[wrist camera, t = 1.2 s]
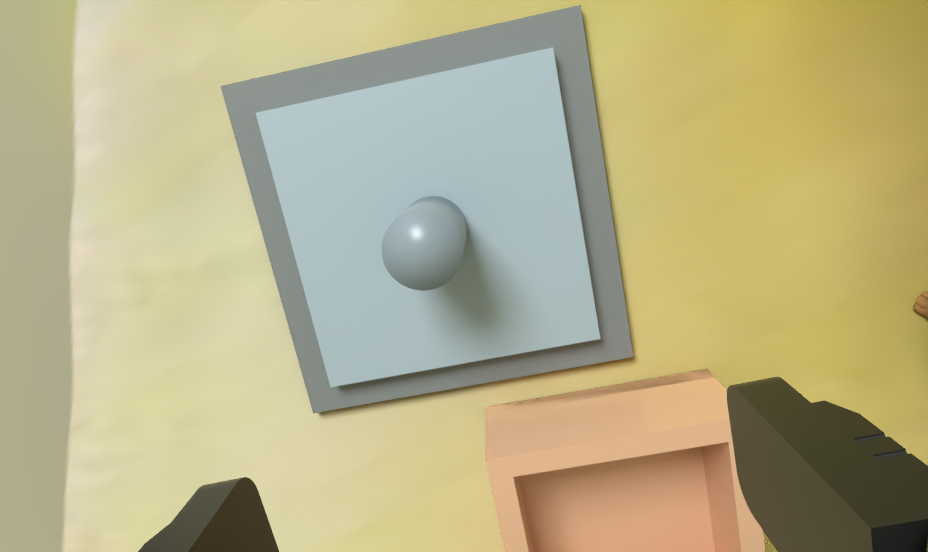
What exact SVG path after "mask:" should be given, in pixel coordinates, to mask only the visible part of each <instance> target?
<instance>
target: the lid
mask: <svg viewBox="0 0 928 552" xmlns="http://www.w3.org/2000/svg"><path fill="white" fill-rule="evenodd" d="M256 116H257V120H258V124H259V127H260V131H261V135H262V138H263V142H264V146H265V149H266V153H267V157H268V160H269V164H270V168H271V171H272V175H273V179H274V182H275V186H276V190H277V193H278V197H279V201H280V204H281V208H282V211H283V215H284V219H285V222H286V226H287V230H288V233H289V237H290V241H291V244H292V248H293V252H294V255H295V259H296V263H297V266H298V270H299V274H300V277H301V281H302V285H303V288H304V292H305V296H306V299H307V303H308V307H309V310H310V314H311V318H312V321H313V325H314V329H315V332H316V336H317V339H318V343H319V347H320V350H321V354H322V358H323V361H324V365H325V369H326V372H327V376H328V380H329V383H330V387H335V386H341V385H346V384H352V383H358V382H363V381H369V380H374V379H380V378H385V377H391V376H397V375H402V374H408V373H413V372H419V371H425V370H430V369H436V368H441V367H447V366H452V365H458V364H464V363H469V362H475V361H480V360H486V359H491V358H497V357H503V356H508V355H514V354H519V353H525V352H531V351H536V350H542V349H547V348H553V347H558V346H564V345H570V344H575V343H581V342H586V341H592V340H597V339H600V333H599V327H598V321H597V315H596V308H595V302H594V296H593V290H592V284H591V278H590V271H589V265H588V259H587V253H586V247H585V241H584V234H583V228H582V222H581V216H580V210H579V204H578V197H577V191H576V185H575V179H574V173H573V167H572V160H571V154H570V148H569V142H568V136H567V130H566V123H565V117H564V111H563V105H562V99H561V93H560V86H559V80H558V74H557V68H556V62H555V56H554V49H553V47H552V48H548V49H543V50H539V51H534V52H530V53H525V54H520V55H516V56H511V57H507V58H502V59H498V60H493V61H489V62H484V63H480V64H475V65H471V66H466V67H461V68H457V69H452V70H448V71H443V72H439V73H434V74H430V75H425V76H421V77H416V78H412V79H407V80H403V81H398V82H393V83H389V84H384V85H380V86H375V87H371V88H366V89H362V90H357V91H353V92H348V93H344V94H339V95H334V96H330V97H325V98H321V99H316V100H312V101H307V102H303V103H298V104H294V105H289V106H285V107H280V108H276V109H271V110H266V111H262V112H257V113H256Z"/></svg>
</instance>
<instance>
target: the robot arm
mask: <svg viewBox="0 0 928 552" xmlns="http://www.w3.org/2000/svg"><path fill="white" fill-rule="evenodd" d="M727 405H728V412H729V420H730V427H731V434H732V441H733V448H734V455H735V462H736V469H737V475H738V480H739V484H740V487H741V490H742V493H743V496H744V499H745V501H746V503H747V506H748V508H749V510H750V511H751V513H752V515H753V516H754V518H755V519H756V521H757V522H758V524H759V525H760V527H761V528H762V530H763V531H764V532H765V534H766V535H767V537H768V538H769V540H770V541H771V543H772V544H773V545H774V547H775V548H776V550H777V551H778V552H928V466H927V465H926V464H924V463H923V462H922V461H920V460H919V459H918V458H916V457H915V456H914V455H912V454H907V452H906V449H905V448H903V447H902V446H901V445H899V444H898V443H897V442H895V441H894V440H893V439H892V438H890V437H885V435H884V432H882V431H881V430H880V429H878V428H877V427H876V426H875V425H873V424H872V423H871V422H869V421H868V420H867V419H865V418H864V417H863V416H861V415H860V414H858V413H856V412H853V411H850V410H848V409H845V408H842V407H840V406H837V405H835V404H832V403H829V402H827V401H820V402H815V403H810V402H809V401H808V400H807V399H806V398H804V397H803V396H802V395H801V394H800V393H798V392H797V391H796V390H795V389H794V388H793V387H791V386H790V385H789V384H788V383H787V382H785V381H784V380H783V379H782V378H780V377H773V378H768V379H762V380H757V381H752V382H747V383H741V384H736V385H731V386H729V387H728V389H727ZM138 552H279V550H278V547H277V544H276V541H275V539H274V536H273V533H272V530H271V527H270V524H269V521H268V518H267V515H266V513H265V510H264V507H263V504H262V501H261V498H260V495H259V492H258V490H257V487H256V485H255V484H254V482H253V481H252V480H251V479H249V478H246V477H244V478H239V479H233V480H228V481H223V482H218V483H213V484H207V485H203V486H201V487H200V488H199V489H198V490H197V491H196V492H195V494H194V495H193V496H192V497H191V499H190V500H189V501H188V502H187V504H186V505H185V506H184V507H183V509H182V510H181V511H180V512H179V514H178V515H177V516H176V517H175V519H174V520H173V521H172V522H171V523H170V524H169V525H168V526H166V527H165V528H164V529H163V530H161V531H160V532H159V533H158V534H156V535H155V536H154V537H153V538H151V539H150V540H149V541H148V542H146V543H145V544H144V545H143V547H142V548H141V549H140V550H139V551H138Z"/></svg>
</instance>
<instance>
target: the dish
mask: <svg viewBox="0 0 928 552" xmlns="http://www.w3.org/2000/svg"><path fill="white" fill-rule="evenodd" d="M486 464H487V469H488V473H489V478H490V483H491V487H492V492H493V496H494V501H495V506H496V510H497V515H498V519H499V524H500V529H501V533H502V538H503V542H504V547H505V551H506V552H765V544H764V535H763V530H762V528H761V527H760V525H759V524H758V522H757V521H756V519H755V518H754V516H753V515H752V513H751V511H750V510H749V508H748V506H747V503H746V501H745V499H744V496H743V493H742V490H741V487H740V484H739V480H738V475H737V469H736V462H735V455H734V448H733V441H732V434H731V427H730V420H729V412H728V405H727V390H726V389H725V388H724V387H723V386H722V385H721V383H720V382H719V381H718V380H717V379H716V378H715V377H714V376H713V375H712V374H711V373H710V372H709V371H708V370H707V369H704V370H698V371H693V372H687V373H681V374H675V375H670V376H664V377H658V378H652V379H646V380H641V381H635V382H629V383H623V384H617V385H612V386H606V387H600V388H594V389H588V390H583V391H577V392H571V393H565V394H559V395H554V396H548V397H542V398H536V399H531V400H525V401H519V402H513V403H507V404H502V405H496V406H490V407H486Z"/></svg>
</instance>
